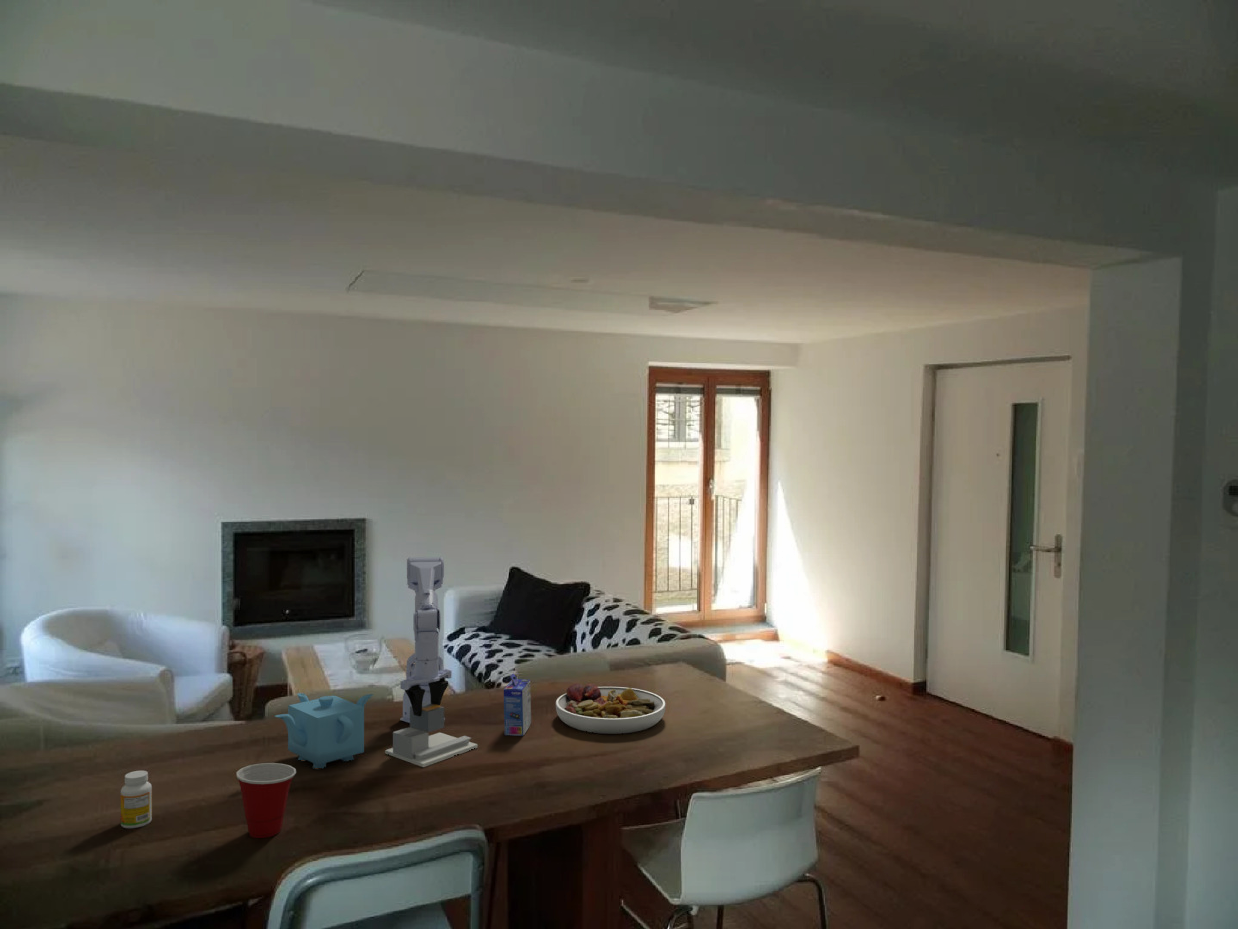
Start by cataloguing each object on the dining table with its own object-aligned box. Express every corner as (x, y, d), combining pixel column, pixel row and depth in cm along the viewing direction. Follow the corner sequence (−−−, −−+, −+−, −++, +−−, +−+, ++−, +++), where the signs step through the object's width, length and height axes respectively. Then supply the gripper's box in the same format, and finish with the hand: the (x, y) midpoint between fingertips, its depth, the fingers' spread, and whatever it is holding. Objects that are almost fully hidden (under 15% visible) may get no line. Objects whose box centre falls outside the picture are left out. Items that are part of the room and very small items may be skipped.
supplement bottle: (128, 817, 176) (128, 769, 176) (156, 817, 177) (156, 768, 176) (115, 829, 171) (115, 779, 171) (144, 828, 171) (144, 779, 171)
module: (409, 726, 219) (409, 705, 219) (425, 721, 223) (425, 701, 223) (428, 732, 215) (428, 711, 214) (444, 727, 218) (444, 706, 218)
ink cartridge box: (511, 723, 237) (511, 669, 237) (531, 724, 237) (531, 670, 236) (502, 735, 228) (503, 679, 227) (523, 736, 227) (524, 680, 227)
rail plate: (385, 753, 213) (385, 729, 213) (439, 735, 227) (440, 712, 227) (423, 767, 205) (423, 741, 205) (477, 747, 218) (477, 723, 218)
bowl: (684, 715, 247) (685, 687, 247) (628, 746, 222) (628, 715, 222) (595, 697, 263) (595, 671, 263) (533, 724, 238) (533, 695, 238)
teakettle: (354, 773, 201) (355, 709, 201) (270, 773, 200) (271, 709, 200) (374, 745, 220) (374, 686, 219) (297, 744, 219) (298, 685, 219)
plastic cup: (303, 835, 169) (303, 773, 169) (243, 849, 163) (243, 785, 163) (287, 815, 178) (287, 756, 178) (230, 828, 172) (230, 767, 172)
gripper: (413, 666, 210) (413, 723, 210) (459, 655, 222) (459, 708, 222) (395, 661, 214) (394, 717, 215) (441, 650, 226) (440, 703, 226)
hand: (426, 712), depth 219 cm, fingers closed on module, 5 cm apart
